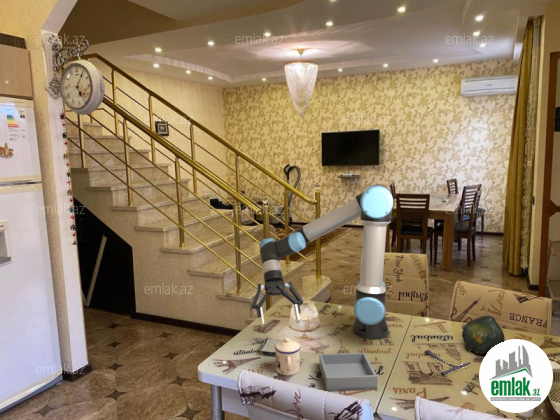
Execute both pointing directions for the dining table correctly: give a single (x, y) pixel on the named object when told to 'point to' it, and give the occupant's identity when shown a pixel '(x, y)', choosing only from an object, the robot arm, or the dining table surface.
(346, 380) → the tray
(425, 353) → the dark grey rake
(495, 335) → the squash
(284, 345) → the teacup with lid
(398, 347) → the dining table surface
